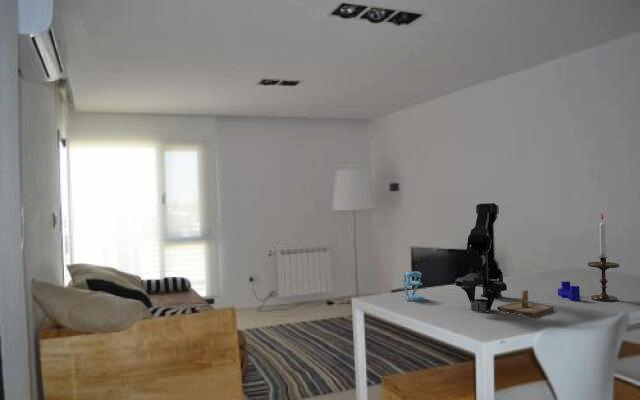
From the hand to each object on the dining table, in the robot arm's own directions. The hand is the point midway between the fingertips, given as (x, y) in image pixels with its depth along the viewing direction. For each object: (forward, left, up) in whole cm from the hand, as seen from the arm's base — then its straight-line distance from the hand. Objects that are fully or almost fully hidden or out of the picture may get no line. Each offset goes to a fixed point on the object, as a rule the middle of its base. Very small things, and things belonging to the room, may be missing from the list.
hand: (480, 307), depth 180 cm
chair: (-31, -3, -1) cm, 31 cm away
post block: (+12, +10, -1) cm, 16 cm away
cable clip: (+12, +43, -2) cm, 45 cm away
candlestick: (+23, +50, -1) cm, 55 cm away
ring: (0, 0, -1) cm, 1 cm away
